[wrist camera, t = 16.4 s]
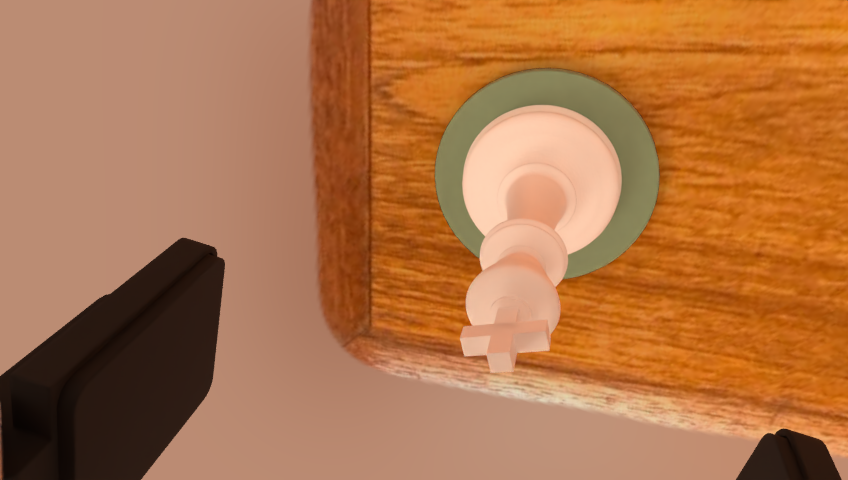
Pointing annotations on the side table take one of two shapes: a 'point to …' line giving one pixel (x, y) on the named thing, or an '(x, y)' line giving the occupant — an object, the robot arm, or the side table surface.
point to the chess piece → (531, 222)
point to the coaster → (577, 96)
